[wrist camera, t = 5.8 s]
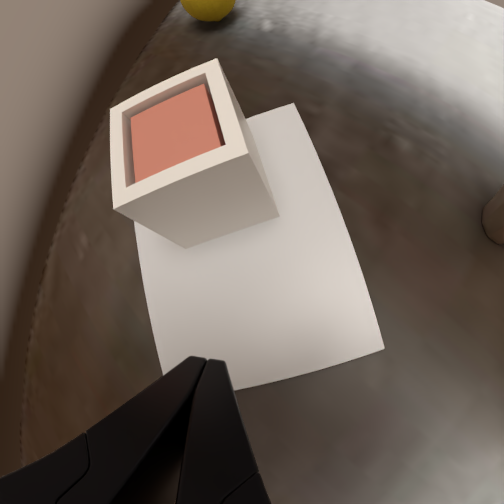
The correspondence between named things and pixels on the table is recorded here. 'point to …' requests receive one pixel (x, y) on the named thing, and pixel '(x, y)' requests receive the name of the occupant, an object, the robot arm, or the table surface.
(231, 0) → the lemon
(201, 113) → the salmon pink square block
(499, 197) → the takeaway coffee cup
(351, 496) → the table surface
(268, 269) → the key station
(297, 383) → the table surface
